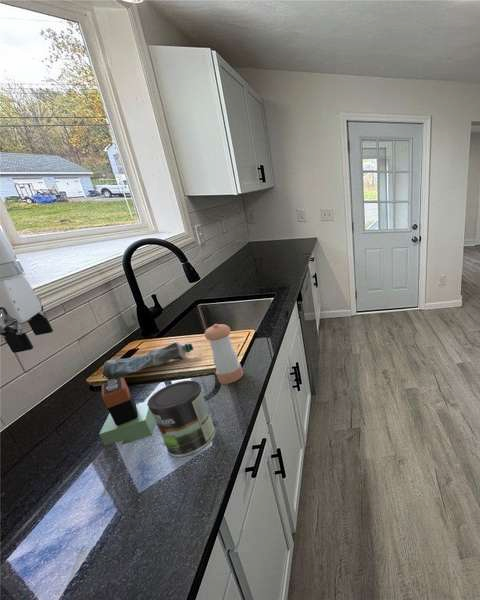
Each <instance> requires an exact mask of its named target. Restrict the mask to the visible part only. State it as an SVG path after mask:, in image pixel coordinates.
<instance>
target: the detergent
mask: <svg viewBox="0 0 480 600" xmlns="http://www.w3.org/2000/svg"><path fill="white" fill-rule="evenodd" d="M191 351H194V347H193V344H192V343H185V344H184V345H182V344H181V343H180V342H178V341H177V342H172V343H170V344H168V345H167V346H164V347H163V348H159V349H153V350H150V351H149V352H147V354H145V355H140V356H133V357H132V356H131V357H126V358H117V359H108V360H106V361H104V363H103V371H102V375H103V376H104V377H105V378H106V379H107V380H108V381H109V380H111V379H115V380H117V379H120V378H123V377H125V376H127V375H130V374H133V373H136V372H139V371H141V370H144V369H146V368H149V367H153V366H159V365H163V364H165V363H167V362H168V361H170V360H171V361H172V360H173V361H175V360H176V361H178V360H177V359H182V360H183V359H184V358H185V355H186V354H187V353H190V352H191Z"/></svg>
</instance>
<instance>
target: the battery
mask: <svg viewBox="0 0 480 600" xmlns="http://www.w3.org/2000/svg"><path fill="white" fill-rule="evenodd" d="M101 398H102V400H103V403H104V404H105V406H106V408H107V411H108V412H109V413H110V414H111V416H112V418H113V420H114V422H115V424H116V425H117V426H118V425H121V424H123V423H126V422H128V421H130V420H133V419H135V418H137V417H138V413H137V408H136V404H137V403H136V402H135V399H134V398H133V395H132V393H131V390H130V388H129V387H128V384H127V381H126V380H125V378H123V377H120V378H118V379H116V380H115V379H111V380H108V381H107V382H105V383H103V384H102V385H101Z"/></svg>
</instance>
